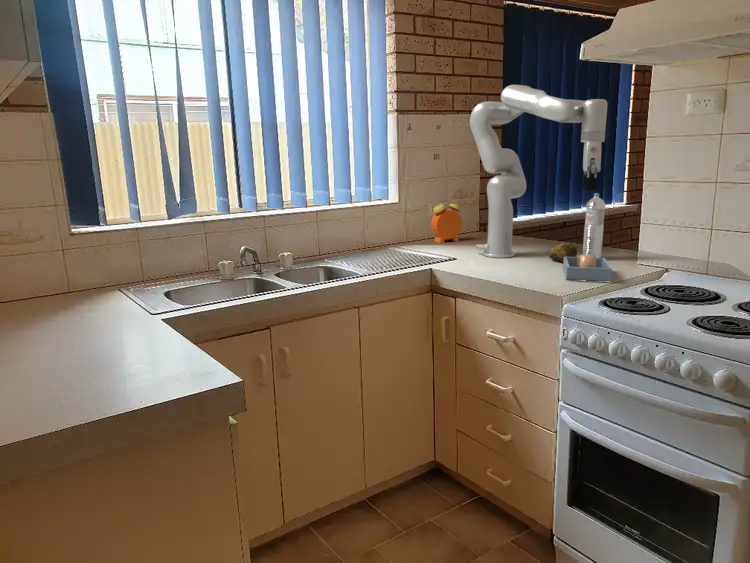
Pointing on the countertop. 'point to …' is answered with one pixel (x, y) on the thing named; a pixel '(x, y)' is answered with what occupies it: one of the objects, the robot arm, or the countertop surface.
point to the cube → (578, 261)
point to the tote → (587, 270)
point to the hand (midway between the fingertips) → (588, 188)
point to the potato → (563, 251)
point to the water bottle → (594, 226)
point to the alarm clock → (446, 223)
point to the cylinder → (587, 261)
